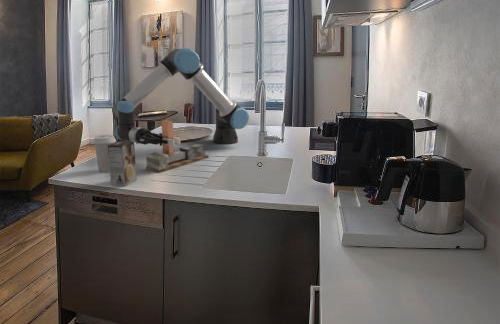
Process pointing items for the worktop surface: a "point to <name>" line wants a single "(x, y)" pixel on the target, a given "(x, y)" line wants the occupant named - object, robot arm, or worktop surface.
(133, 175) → the coffee box
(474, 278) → the worktop surface
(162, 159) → the stand
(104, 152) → the coffee cup
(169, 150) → the orange and grey l-shape
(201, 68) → the robot arm
